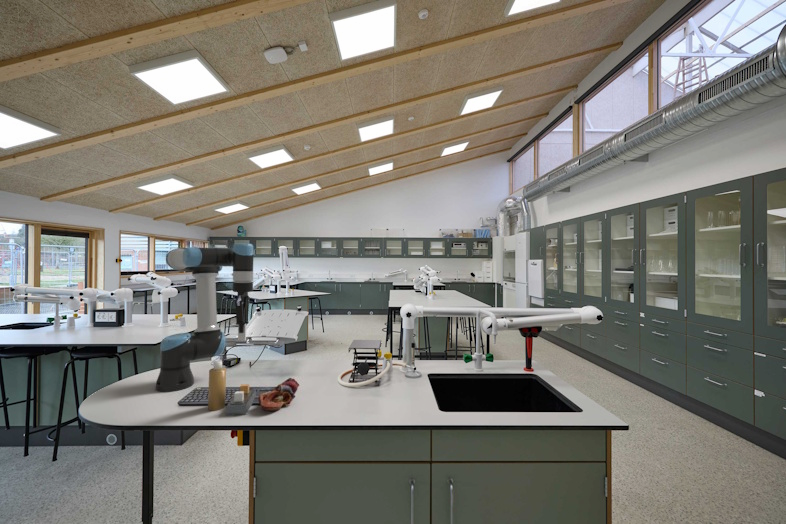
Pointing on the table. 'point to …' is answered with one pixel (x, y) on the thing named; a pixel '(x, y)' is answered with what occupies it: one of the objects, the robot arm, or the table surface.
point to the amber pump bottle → (217, 387)
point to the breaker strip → (241, 404)
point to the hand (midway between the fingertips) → (242, 340)
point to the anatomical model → (279, 395)
